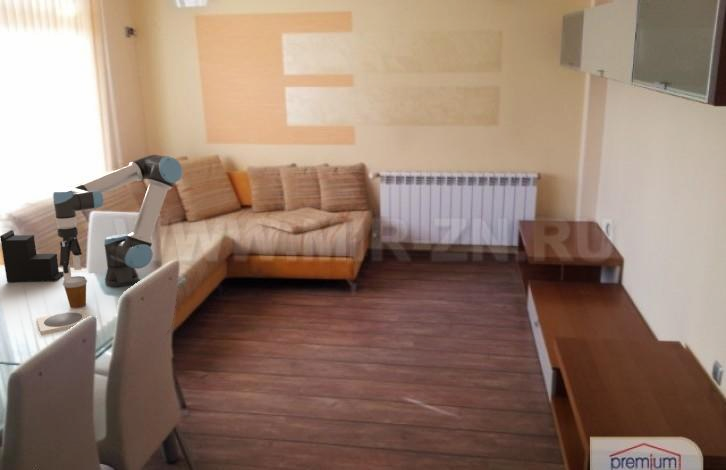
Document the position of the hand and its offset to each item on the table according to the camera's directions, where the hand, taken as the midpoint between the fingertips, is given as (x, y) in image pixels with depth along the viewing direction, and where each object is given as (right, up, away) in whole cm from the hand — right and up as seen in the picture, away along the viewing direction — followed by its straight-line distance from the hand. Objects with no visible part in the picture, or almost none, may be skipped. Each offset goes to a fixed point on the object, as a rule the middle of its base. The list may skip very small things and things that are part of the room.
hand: (73, 274), depth 256 cm
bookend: (-36, -5, +38) cm, 52 cm away
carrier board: (+3, -19, -14) cm, 23 cm away
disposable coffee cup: (0, -14, +4) cm, 14 cm away
